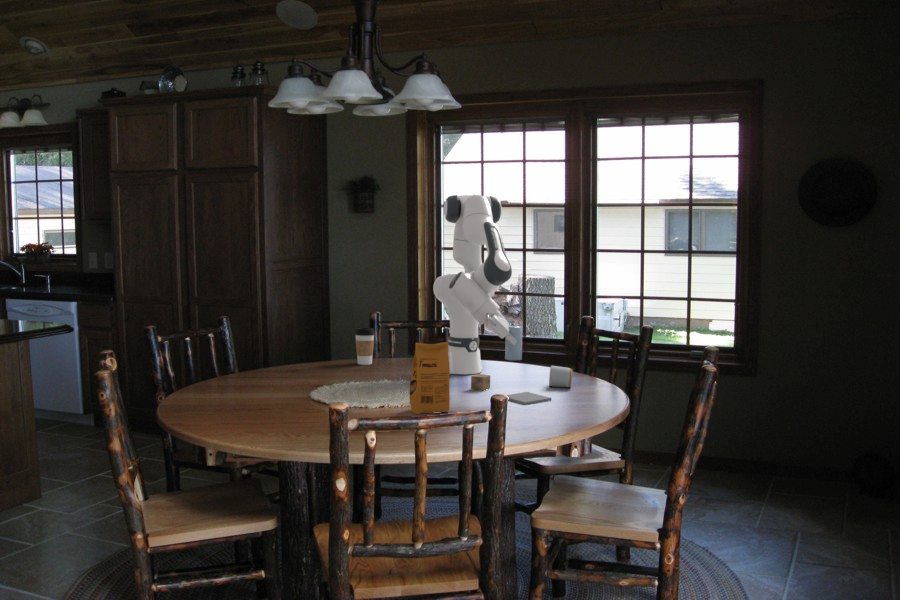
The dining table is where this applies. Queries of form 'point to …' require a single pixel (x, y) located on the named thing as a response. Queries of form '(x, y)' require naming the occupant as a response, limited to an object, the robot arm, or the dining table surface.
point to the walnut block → (480, 382)
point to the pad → (527, 398)
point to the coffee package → (430, 379)
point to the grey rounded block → (560, 376)
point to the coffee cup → (364, 345)
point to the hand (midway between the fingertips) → (515, 341)
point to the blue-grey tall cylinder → (514, 350)
